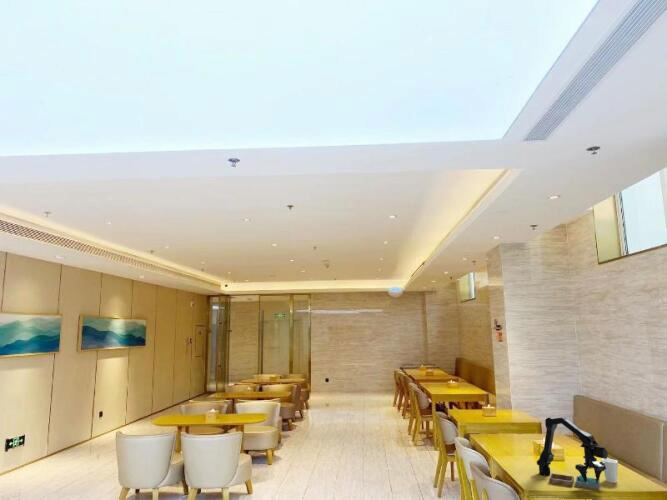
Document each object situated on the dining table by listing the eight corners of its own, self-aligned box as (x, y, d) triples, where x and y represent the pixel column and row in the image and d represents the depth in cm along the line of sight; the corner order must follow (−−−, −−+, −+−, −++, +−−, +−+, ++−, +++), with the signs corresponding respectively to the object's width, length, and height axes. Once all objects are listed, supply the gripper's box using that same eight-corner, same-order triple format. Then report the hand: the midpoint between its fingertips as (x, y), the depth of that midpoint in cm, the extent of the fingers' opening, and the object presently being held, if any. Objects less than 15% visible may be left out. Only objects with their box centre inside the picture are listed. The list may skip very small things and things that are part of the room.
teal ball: (587, 486, 295) (586, 478, 295) (587, 484, 299) (587, 476, 300) (596, 487, 292) (595, 479, 293) (596, 485, 296) (596, 477, 297)
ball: (579, 483, 301) (578, 474, 302) (579, 480, 306) (578, 472, 306) (587, 484, 299) (587, 476, 300) (588, 482, 303) (587, 474, 304)
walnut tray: (549, 483, 302) (549, 478, 303) (552, 478, 313) (551, 473, 314) (572, 487, 296) (572, 481, 296) (573, 481, 307) (573, 476, 307)
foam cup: (614, 479, 311) (612, 458, 314) (622, 483, 302) (620, 462, 304) (600, 479, 311) (598, 458, 313) (608, 483, 302) (606, 462, 304)
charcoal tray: (575, 486, 296) (575, 481, 297) (577, 480, 308) (576, 476, 308) (599, 490, 290) (599, 485, 290) (600, 484, 301) (599, 479, 302)
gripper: (587, 459, 289) (589, 486, 286) (611, 457, 293) (614, 484, 291) (573, 455, 299) (575, 480, 297) (597, 453, 304) (599, 478, 301)
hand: (591, 481), depth 296 cm, fingers open, 9 cm apart
